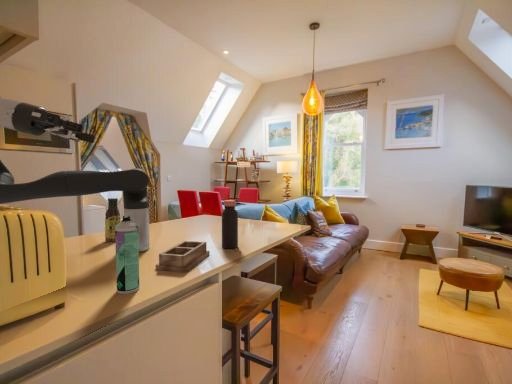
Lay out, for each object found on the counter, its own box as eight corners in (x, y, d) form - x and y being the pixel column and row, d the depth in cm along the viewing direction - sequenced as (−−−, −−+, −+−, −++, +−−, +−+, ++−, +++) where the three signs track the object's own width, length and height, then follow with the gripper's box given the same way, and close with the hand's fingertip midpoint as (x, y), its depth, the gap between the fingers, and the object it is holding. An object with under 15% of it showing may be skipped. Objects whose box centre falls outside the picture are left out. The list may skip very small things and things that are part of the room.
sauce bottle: (109, 243, 118) (108, 199, 117) (102, 241, 121) (100, 198, 120) (123, 240, 124) (122, 198, 122) (116, 238, 127) (115, 197, 126)
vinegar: (235, 249, 109) (235, 201, 108) (219, 248, 110) (219, 201, 109) (239, 245, 116) (239, 200, 114) (224, 244, 117) (224, 199, 116)
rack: (155, 269, 86) (155, 254, 86) (183, 252, 104) (183, 240, 104) (186, 272, 84) (186, 256, 83) (209, 254, 102) (209, 241, 102)
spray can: (135, 283, 75) (133, 213, 73) (142, 289, 71) (140, 216, 70) (114, 289, 71) (111, 215, 70) (120, 296, 67) (118, 218, 66)
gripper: (31, 138, 74) (93, 154, 77) (-5, 119, 60) (73, 139, 64) (41, 114, 75) (101, 130, 79) (7, 90, 62) (82, 111, 65)
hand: (88, 134), depth 71 cm, fingers open, 8 cm apart
